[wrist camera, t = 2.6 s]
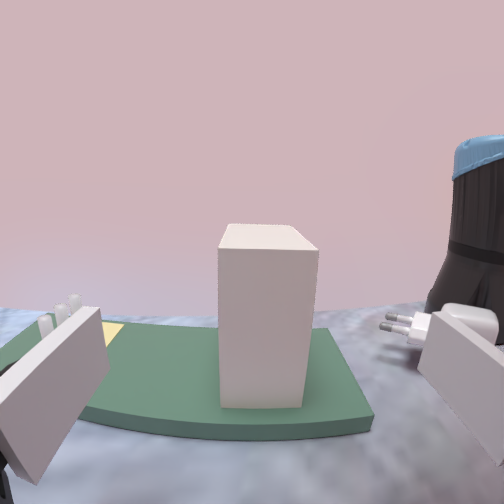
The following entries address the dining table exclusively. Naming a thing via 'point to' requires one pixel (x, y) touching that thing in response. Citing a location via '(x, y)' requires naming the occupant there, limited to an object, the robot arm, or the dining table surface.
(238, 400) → the block
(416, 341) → the power adapter
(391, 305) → the dining table surface
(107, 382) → the board
